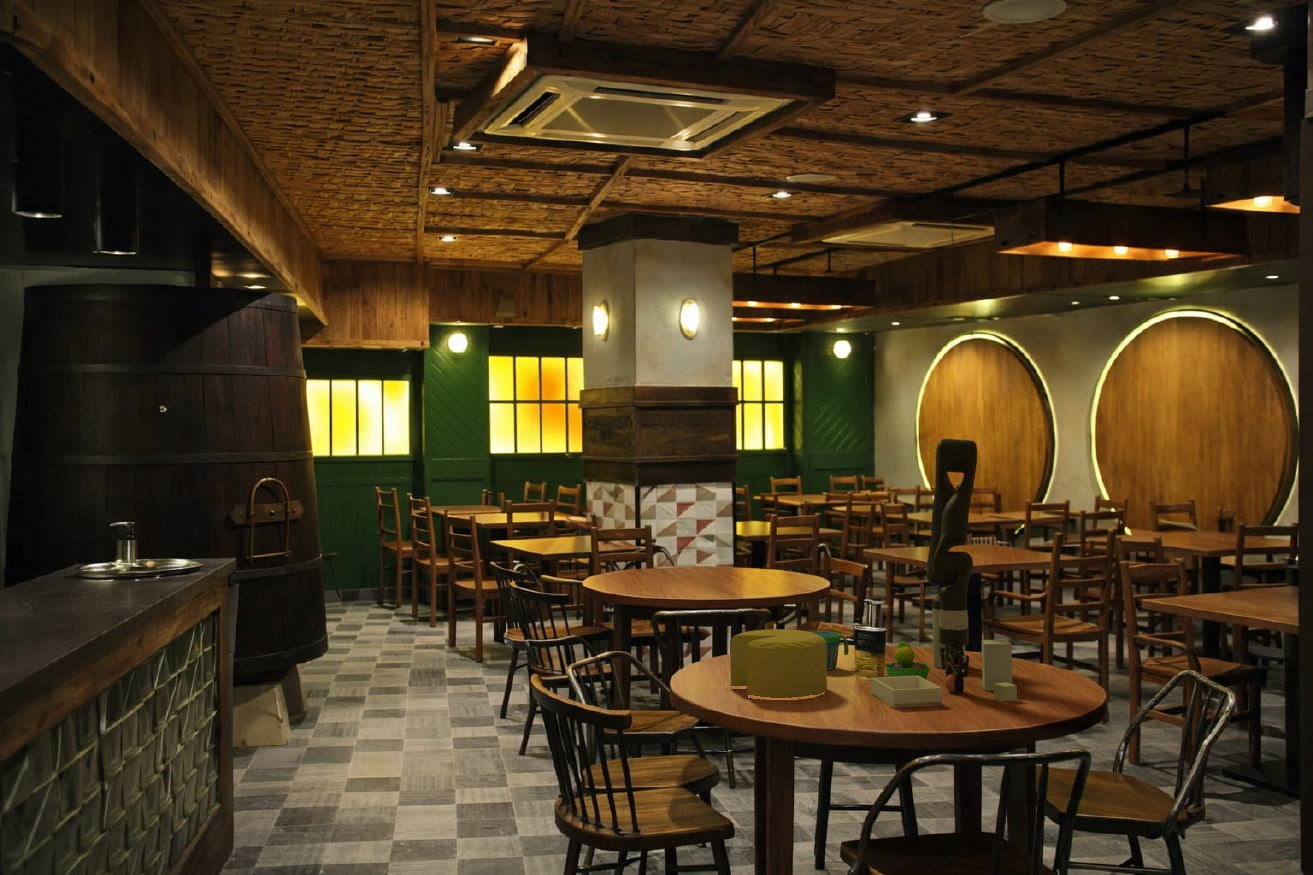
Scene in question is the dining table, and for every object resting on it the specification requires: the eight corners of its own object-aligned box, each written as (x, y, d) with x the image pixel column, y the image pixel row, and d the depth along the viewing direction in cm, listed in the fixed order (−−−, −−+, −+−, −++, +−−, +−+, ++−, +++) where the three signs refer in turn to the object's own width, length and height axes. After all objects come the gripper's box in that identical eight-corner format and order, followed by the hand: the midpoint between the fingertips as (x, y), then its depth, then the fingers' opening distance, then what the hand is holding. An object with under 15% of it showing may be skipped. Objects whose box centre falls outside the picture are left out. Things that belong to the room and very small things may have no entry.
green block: (994, 699, 294) (993, 683, 294) (1006, 697, 296) (1006, 682, 296) (1004, 702, 290) (1004, 686, 290) (1016, 700, 292) (1016, 685, 292)
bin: (871, 694, 301) (871, 677, 301) (918, 692, 303) (917, 675, 303) (893, 708, 285) (892, 690, 285) (942, 705, 287) (941, 687, 287)
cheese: (715, 696, 303) (714, 640, 303) (753, 677, 326) (752, 625, 326) (807, 705, 291) (806, 646, 291) (840, 685, 314) (839, 631, 314)
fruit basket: (888, 686, 311) (888, 645, 311) (883, 680, 320) (883, 640, 320) (930, 686, 310) (929, 645, 310) (924, 679, 319) (923, 639, 319)
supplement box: (1013, 691, 302) (1012, 644, 302) (984, 690, 303) (983, 643, 304) (1010, 685, 309) (1009, 639, 309) (982, 685, 311) (981, 639, 311)
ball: (942, 690, 304) (941, 672, 305) (959, 689, 305) (959, 671, 305) (949, 694, 300) (949, 675, 300) (967, 693, 300) (967, 674, 300)
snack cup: (803, 672, 332) (802, 637, 332) (793, 666, 342) (792, 632, 342) (854, 670, 334) (853, 635, 334) (843, 663, 345) (842, 630, 345)
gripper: (929, 622, 309) (931, 685, 309) (951, 630, 295) (952, 696, 295) (955, 621, 310) (957, 683, 310) (978, 629, 296) (979, 694, 296)
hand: (954, 689), depth 302 cm, fingers closed on ball, 5 cm apart
